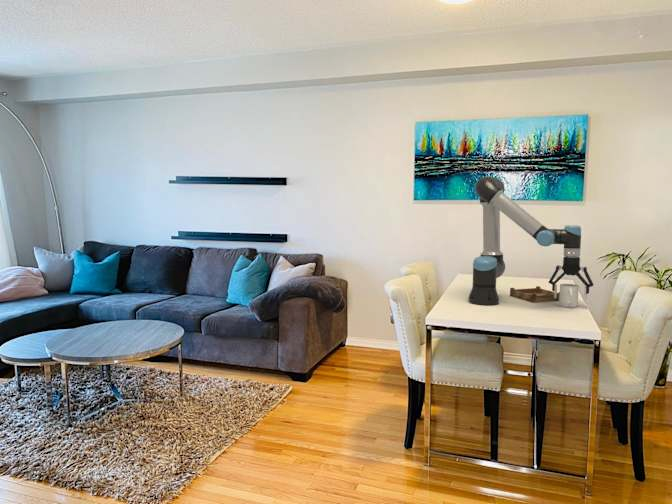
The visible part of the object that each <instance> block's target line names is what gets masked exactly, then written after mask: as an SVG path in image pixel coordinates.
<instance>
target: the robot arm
mask: <svg viewBox="0 0 672 504" xmlns="http://www.w3.org/2000/svg"><path fill="white" fill-rule="evenodd" d="M505 187H506V186H505V184H504V182H503V181H502V180H501V179H500V178H498V177H495V176H494V177H493V176H483V177H481V178H479V179H478V180H477V181H476V183H475V186H474V191H475V193H476V195H477V197H478V198H479V204H480V205H481V206H482V231H483V232H482V235H483V236H482V237H483V238H482V243H483V246H482V247H483V248H482V250H483V251H481V253H480V256H477V257H475V258H474V259H473V263H472V266H473V267H472V288H471V290H470V293H469V294H468V303H470V304H473V305H481V306H496V305H499V303H500V298H499V294H498V292H497V279H498V278H500V277H501V276H502V275H503V274H504V272H505V270H506V263H505V261H504V253H503V252H502V251H501V218H500V217H501V215H500V214H501V213H503V215H505V216H506V217H507V218H508V219H510V220H511V221H512V222H514V223H515V224H516V225H517V226H518V227H519V228H521V229H522V230H523V231H524V232H526V233H527V234H528V235H530V236H531V238H533V239H534V240H536V242H537V244H538V245H540V246H542V247H550V246H551V245H563V256H564V257H563V260H562V261H563V262H562V266H561V265H556V267H555V270H554V271H553V273H552V275H551V276H550V278H549V281H548V284H550V285H552V286H551V288H552V290H551V291H553V292H554V298H556V297H557V293H558V284H557V283H558V282H559V281H560V280H561V279H562V278H563V277H564V276H565V275H566V276H577V278H578V279H579V280H580V281H581V283H583V285H584V293H583V296H584V297H583V301H584V302H585V301H587V295H589V293H590V288H591V287H594V283H593V281H592V279H591V276H590V275H589V272H588V267H587V266H583V267H582V266H581V258H580V256H581V245H582V244H581V241H582V228H581V226H580V225H577V224H576V225H575V224H574V225H570V224H569V225H564V228H562V229H561V228H560V229H558V228H548V227H546V226H545V225H543V223H541V222H540V221H539V220H538V219H536V218H535V217H534V216H532V215H531V214H530V213H529V212H528V211H527V210H525V209H524V208H523V207H521V206H520V205H519V204H518V203H516V201H514V200H512V199H511V198H510V197H509V196H508V195H506V194H505V189H506V188H505ZM561 270H562V271H563V272H562V273H561V274H560V275H559V276H558V277H557V278H555V277H556V276H557V274H558V272H559V271H561ZM580 271H582V272H583V273H584V275H585V277H586V278H584V276H582V275H581V273H580ZM554 279H555V280H554ZM553 280H554V281H553ZM586 280H587V281H588V282H587V281H586Z"/></svg>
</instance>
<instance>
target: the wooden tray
mask: <svg viewBox="0 0 672 504" xmlns="http://www.w3.org/2000/svg"><path fill="white" fill-rule="evenodd" d="M559 294H560V291H558V292H557V297H556V298H554V291H552V290H548V289H545V288H544V289H543V288H541V286H538V285H537V286H535V287H534V288H532V287H531V288H530V287H529V288H515V287H510V288H509V296H510V297H512V298H514V299H515V298H516V299H520V300H522V301H527V302H530V303H533V304H536V303H548V302H559Z"/></svg>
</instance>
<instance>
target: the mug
mask: <svg viewBox="0 0 672 504" xmlns="http://www.w3.org/2000/svg"><path fill="white" fill-rule="evenodd" d="M579 289H580V285H577V284H573V283H560V284H559V292H560V294H559V301H558V305H559V306H560V307H562V308H569V309H574V308H577V307H578V305H579V291H580V290H579Z"/></svg>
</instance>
